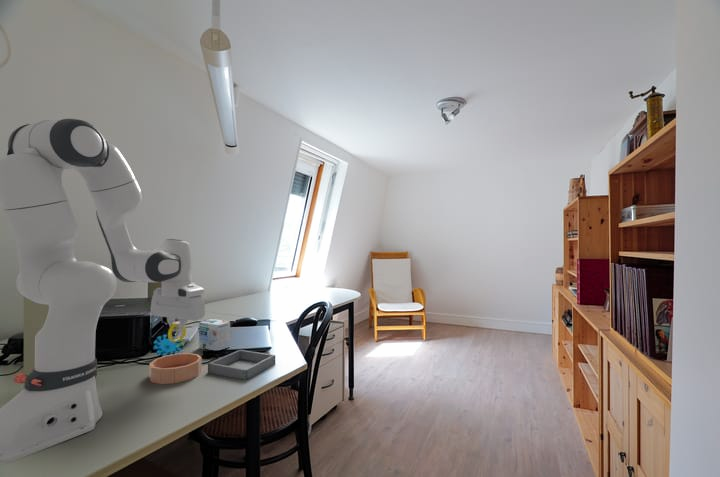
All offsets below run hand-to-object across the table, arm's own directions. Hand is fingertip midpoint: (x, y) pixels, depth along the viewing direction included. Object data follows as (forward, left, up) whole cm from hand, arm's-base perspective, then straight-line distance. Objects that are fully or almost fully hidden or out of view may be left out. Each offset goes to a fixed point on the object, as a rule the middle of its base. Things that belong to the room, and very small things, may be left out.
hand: (176, 331), depth 114 cm
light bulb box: (+26, +9, -14) cm, 31 cm away
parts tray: (+13, -16, -14) cm, 25 cm away
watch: (0, 0, -3) cm, 3 cm away
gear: (+12, +18, -14) cm, 26 cm away
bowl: (0, 0, -14) cm, 14 cm away
